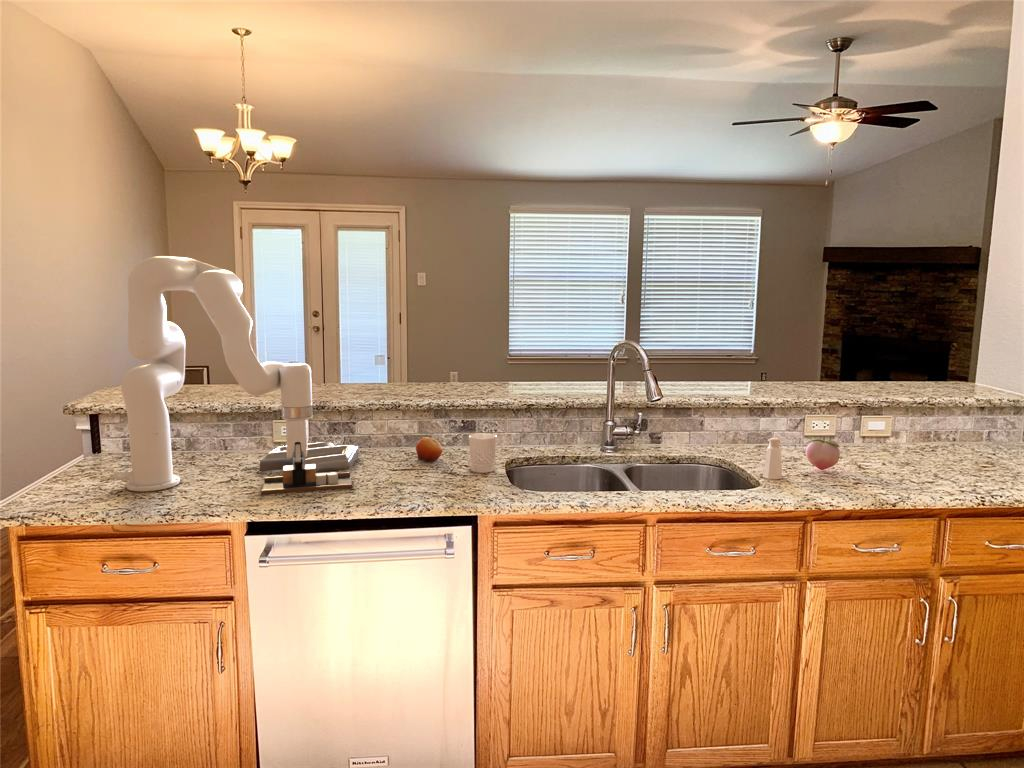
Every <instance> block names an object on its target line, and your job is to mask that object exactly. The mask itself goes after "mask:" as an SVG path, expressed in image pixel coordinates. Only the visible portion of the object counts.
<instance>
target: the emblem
mask: <svg viewBox="0 0 1024 768" xmlns="http://www.w3.org/2000/svg"><path fill="white" fill-rule="evenodd" d="M359 451H360V450H359V446H358V445H353V444H344V445H334V444H333V443H332V442H328V441H327V442H326V441H325V442H324V441H323V442H313V443H308V450H307V457H306V458H305V463H306V465H309V464H315V466H316V473H331V472H339V471H340V472H341V471H347V470H350V469H351V468H352V466H353V465H354V463H355V462H356V460H358V459H359V455H360V453H359ZM292 465H293V455H292V458H290V459H288V458H287V445H285V446H284V445H283V446H278V447H277V448H275V449H273V450H272V451H270V452H268V453H267V454H266V455H264V456H263V457H262V458H260V460H259V472H267V471H274V470H275V471H277V470H283V466H292Z"/></svg>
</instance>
